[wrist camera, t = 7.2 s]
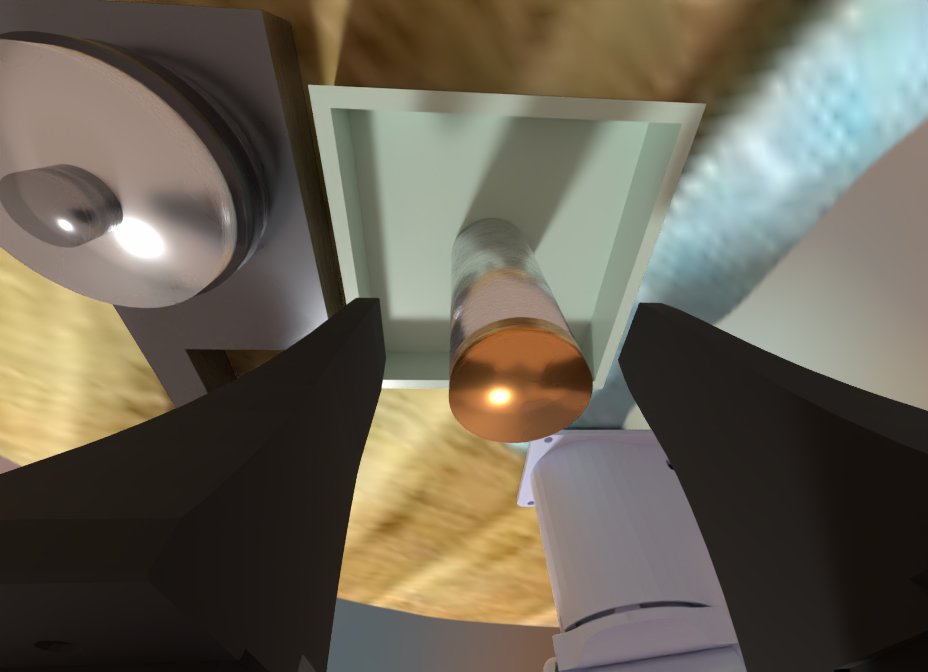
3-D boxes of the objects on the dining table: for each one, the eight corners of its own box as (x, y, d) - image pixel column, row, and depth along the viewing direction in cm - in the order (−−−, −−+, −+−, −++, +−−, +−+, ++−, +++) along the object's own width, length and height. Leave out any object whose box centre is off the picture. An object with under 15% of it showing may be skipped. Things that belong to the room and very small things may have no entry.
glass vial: (536, 221, 14) (613, 343, 7) (521, 294, 15) (571, 445, 9) (454, 214, 13) (454, 333, 7) (448, 289, 15) (444, 440, 9)
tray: (662, 101, 12) (706, 103, 10) (585, 355, 18) (602, 389, 16) (333, 86, 11) (307, 84, 9) (371, 353, 18) (361, 387, 16)
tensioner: (290, 22, 10) (149, -39, 6) (362, 414, 20) (334, 519, 15) (6, 6, 10) (-421, -75, 5) (219, 414, 20) (143, 521, 15)
